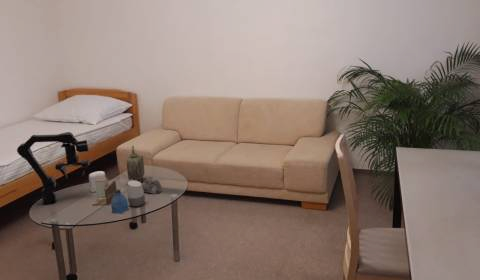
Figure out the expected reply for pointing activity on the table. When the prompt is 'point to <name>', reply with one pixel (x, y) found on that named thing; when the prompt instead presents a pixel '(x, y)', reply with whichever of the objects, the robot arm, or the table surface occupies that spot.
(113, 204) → the perfume bottle
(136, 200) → the smart speaker
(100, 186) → the cabinet block
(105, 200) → the cleat board
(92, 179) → the photo printer
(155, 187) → the mineral rock
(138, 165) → the green spouted canister
